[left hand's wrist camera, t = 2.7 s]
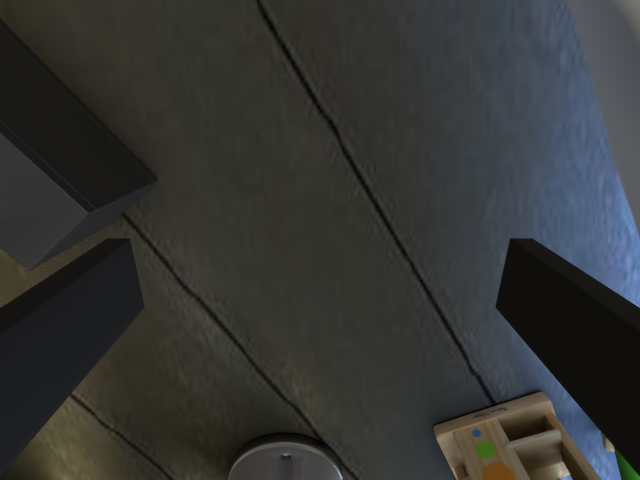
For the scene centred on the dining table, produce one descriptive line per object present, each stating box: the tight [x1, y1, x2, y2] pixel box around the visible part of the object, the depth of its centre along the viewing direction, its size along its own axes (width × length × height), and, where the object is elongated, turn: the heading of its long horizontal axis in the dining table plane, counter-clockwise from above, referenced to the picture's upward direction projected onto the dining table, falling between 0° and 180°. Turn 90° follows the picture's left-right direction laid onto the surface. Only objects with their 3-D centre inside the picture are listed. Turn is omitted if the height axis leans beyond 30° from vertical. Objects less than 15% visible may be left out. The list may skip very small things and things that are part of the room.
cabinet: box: [0, 20, 158, 271], centre depth 27 cm, size 18×7×11 cm, turn 39°
